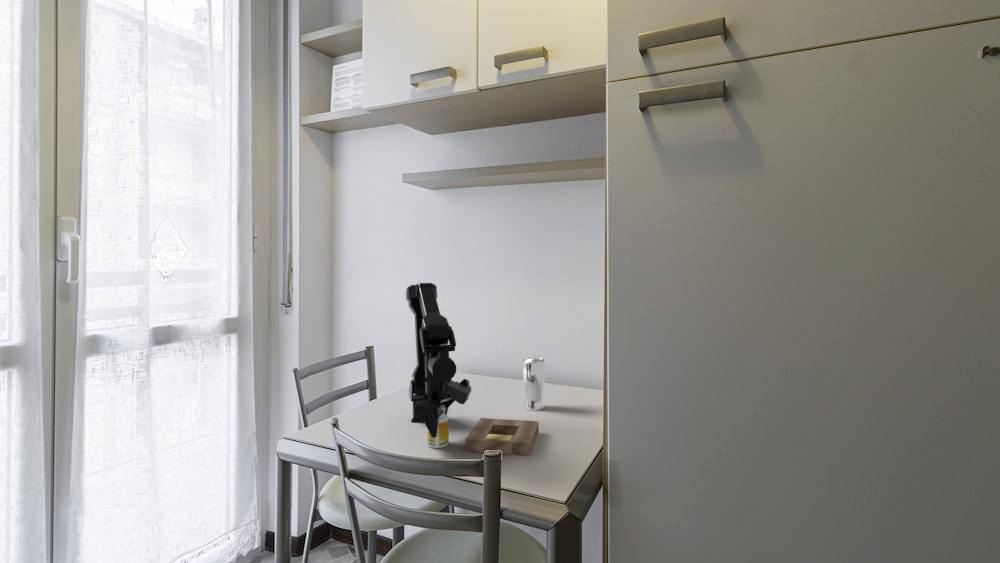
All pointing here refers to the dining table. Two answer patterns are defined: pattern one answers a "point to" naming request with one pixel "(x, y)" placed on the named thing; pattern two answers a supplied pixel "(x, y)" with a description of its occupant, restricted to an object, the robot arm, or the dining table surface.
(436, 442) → the supplement bottle
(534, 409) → the beer glass
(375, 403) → the dining table surface
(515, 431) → the socket block
